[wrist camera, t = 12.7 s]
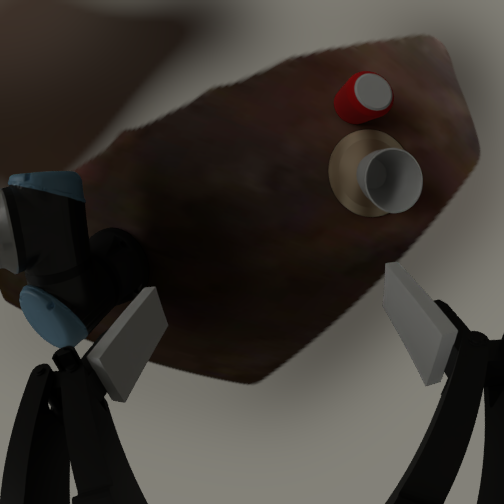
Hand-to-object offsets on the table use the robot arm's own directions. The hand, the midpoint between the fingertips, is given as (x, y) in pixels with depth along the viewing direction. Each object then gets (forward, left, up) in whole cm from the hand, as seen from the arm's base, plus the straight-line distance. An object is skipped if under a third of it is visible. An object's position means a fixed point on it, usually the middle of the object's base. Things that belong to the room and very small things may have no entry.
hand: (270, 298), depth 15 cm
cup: (+15, +4, -30) cm, 33 cm away
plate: (+15, +4, -30) cm, 34 cm away
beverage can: (+13, +14, -31) cm, 36 cm away
